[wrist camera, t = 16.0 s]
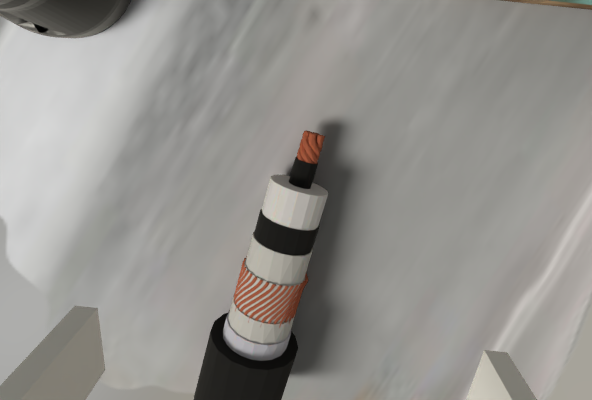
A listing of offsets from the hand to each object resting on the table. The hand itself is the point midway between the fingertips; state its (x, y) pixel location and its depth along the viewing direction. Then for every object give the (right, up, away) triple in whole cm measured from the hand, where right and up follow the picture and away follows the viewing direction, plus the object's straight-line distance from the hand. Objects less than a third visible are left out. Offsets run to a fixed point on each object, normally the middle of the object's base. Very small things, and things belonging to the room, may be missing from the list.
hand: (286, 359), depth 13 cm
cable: (-2, -2, +32) cm, 33 cm away
